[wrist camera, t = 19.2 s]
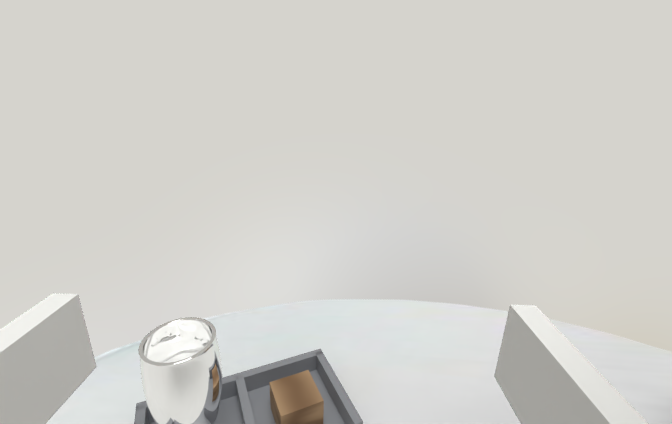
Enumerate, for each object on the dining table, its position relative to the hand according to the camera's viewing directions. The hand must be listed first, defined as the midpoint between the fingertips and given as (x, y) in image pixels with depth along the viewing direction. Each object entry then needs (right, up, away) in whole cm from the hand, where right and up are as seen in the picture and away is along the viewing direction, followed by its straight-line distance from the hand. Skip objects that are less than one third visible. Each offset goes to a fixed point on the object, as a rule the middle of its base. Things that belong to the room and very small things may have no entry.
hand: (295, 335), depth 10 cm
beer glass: (-14, -22, +26) cm, 37 cm away
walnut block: (-4, -21, +30) cm, 37 cm away
